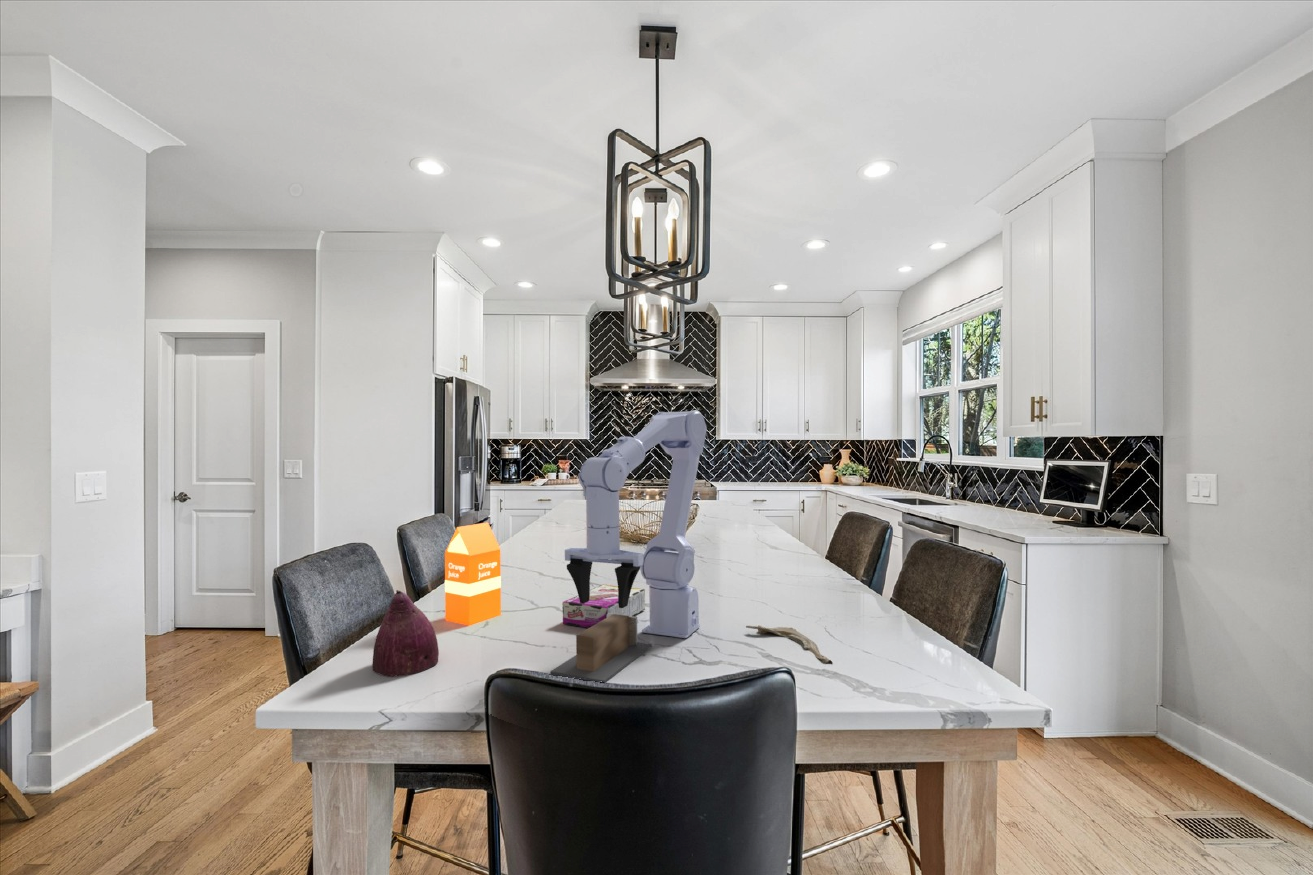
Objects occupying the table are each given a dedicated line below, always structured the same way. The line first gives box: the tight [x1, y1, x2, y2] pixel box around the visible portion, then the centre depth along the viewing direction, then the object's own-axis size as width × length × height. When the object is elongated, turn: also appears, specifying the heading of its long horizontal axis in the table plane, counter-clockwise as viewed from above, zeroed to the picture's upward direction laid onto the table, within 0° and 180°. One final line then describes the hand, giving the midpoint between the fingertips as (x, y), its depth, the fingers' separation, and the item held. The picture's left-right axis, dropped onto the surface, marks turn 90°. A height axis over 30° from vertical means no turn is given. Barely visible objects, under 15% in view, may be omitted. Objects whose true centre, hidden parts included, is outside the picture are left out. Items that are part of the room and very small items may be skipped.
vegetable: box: [371, 589, 440, 678], centre depth 101 cm, size 10×10×15 cm
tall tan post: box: [575, 613, 638, 672], centre depth 104 cm, size 14×6×6 cm, turn 156°
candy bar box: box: [562, 584, 646, 629], centre depth 129 cm, size 11×5×16 cm
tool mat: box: [549, 641, 653, 683], centre depth 104 cm, size 10×18×1 cm, turn 156°
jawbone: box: [745, 625, 833, 665], centre depth 111 cm, size 9×20×2 cm, turn 35°
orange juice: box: [444, 522, 502, 627], centre depth 129 cm, size 8×9×20 cm
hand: (603, 604), depth 104 cm, fingers open, 7 cm apart
